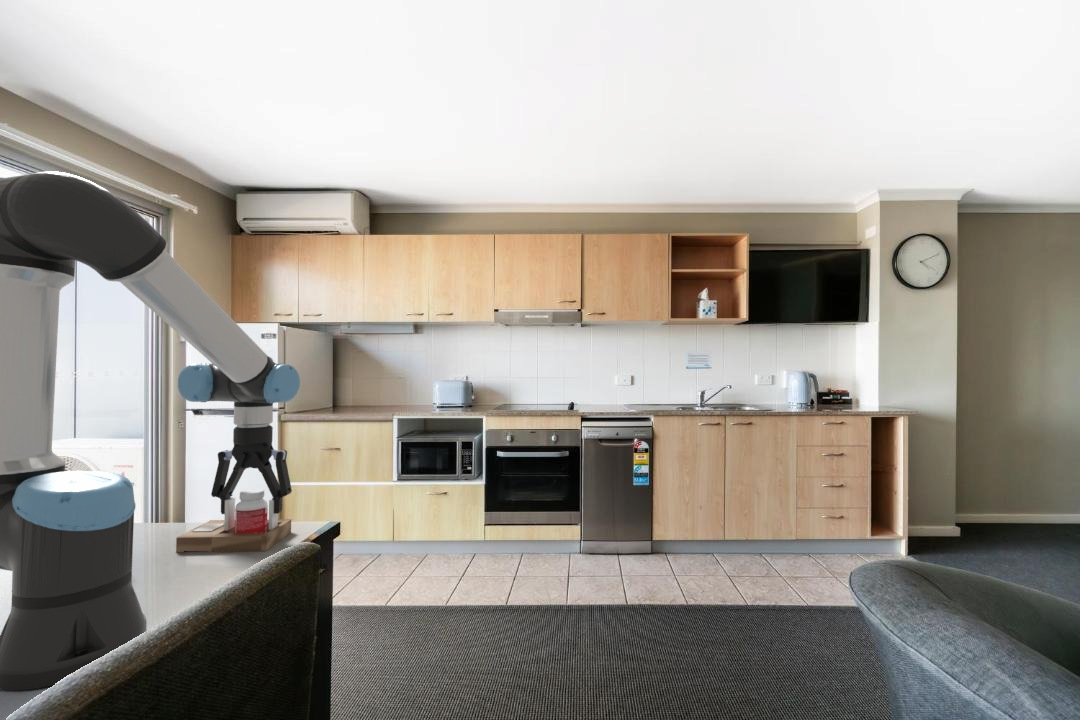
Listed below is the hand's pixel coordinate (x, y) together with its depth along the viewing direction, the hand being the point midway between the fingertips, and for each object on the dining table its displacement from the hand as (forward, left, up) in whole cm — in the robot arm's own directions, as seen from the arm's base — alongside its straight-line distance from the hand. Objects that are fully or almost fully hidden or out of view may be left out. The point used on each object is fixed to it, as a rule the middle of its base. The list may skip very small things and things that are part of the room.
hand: (251, 528), depth 110 cm
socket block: (0, +3, -3) cm, 4 cm away
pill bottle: (0, 0, -3) cm, 3 cm away
